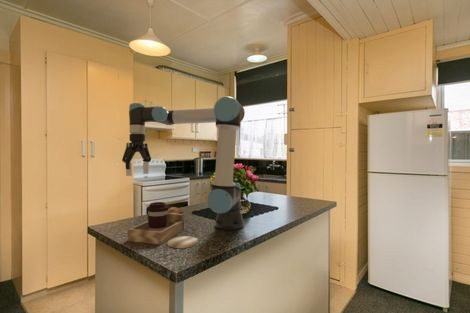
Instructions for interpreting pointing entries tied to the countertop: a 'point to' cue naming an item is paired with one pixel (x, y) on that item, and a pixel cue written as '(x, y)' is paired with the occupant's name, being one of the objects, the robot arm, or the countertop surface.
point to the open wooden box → (155, 237)
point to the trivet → (182, 242)
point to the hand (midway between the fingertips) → (137, 174)
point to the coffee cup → (157, 216)
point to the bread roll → (174, 210)
